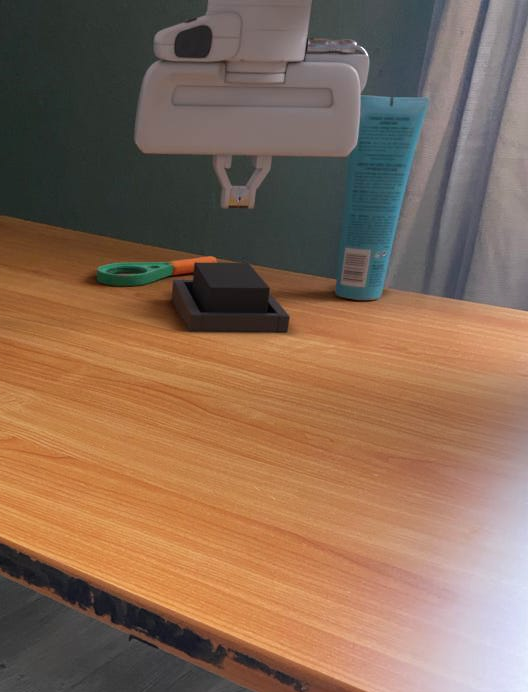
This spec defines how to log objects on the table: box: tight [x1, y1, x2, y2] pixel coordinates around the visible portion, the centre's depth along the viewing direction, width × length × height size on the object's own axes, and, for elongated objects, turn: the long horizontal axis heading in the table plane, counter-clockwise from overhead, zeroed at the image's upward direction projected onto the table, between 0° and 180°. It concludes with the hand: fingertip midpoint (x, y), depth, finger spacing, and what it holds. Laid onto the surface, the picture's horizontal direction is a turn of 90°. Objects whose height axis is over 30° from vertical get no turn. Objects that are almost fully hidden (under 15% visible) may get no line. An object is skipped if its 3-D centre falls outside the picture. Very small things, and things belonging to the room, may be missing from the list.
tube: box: [334, 94, 431, 301], centre depth 103 cm, size 7×5×19 cm, turn 85°
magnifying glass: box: [96, 255, 218, 287], centre depth 114 cm, size 15×6×2 cm, turn 116°
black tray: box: [171, 279, 290, 334], centre depth 99 cm, size 9×15×2 cm, turn 1°
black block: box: [192, 262, 271, 313], centre depth 98 cm, size 6×11×4 cm, turn 1°
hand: (236, 207), depth 94 cm, fingers closed
